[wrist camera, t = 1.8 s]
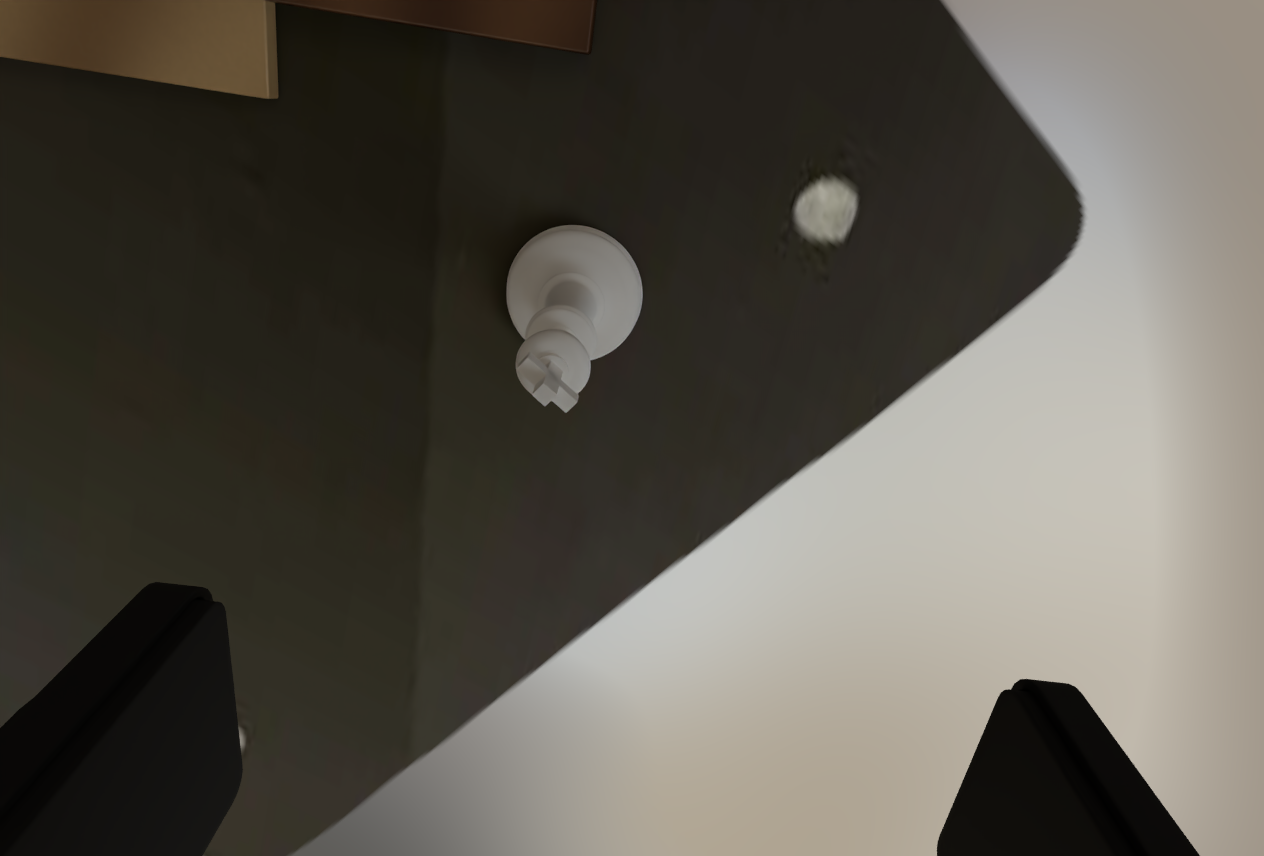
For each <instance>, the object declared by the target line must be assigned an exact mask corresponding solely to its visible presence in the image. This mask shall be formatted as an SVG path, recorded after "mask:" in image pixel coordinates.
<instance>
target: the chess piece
mask: <svg viewBox="0 0 1264 856" xmlns="http://www.w3.org/2000/svg"><path fill="white" fill-rule="evenodd" d="M642 296H643V293H642V283H641V278H640V274H639V271H638V269H637V266H636V264H635V262H634V260H633V259H632V257H631V256H630V254H629V253H628V252H627V250H626V249H625V248H624V247H623V246H622V245H621V244H620V243H619V242H618V241H616V240H615V239H614V238H612V237H611V236H609V235H608V234H606V233H604V232H602V231H600V230H597V229H594V228H591V227H587V226H581V225H564V226H558V227H554V228H551V229H548V230H545V231H543V232H541V233H539V234H538V235H536V236H535V237H533V238H532V239H531V240H529V241H528V242H527V243H526V244H525V245H524V246H523V247H522V248H521V250H520V251H519V252H518V254H517V255H516V257H515V259H514V261H513V263H512V265H511V267H510V270H509V274H508V279H507V289H506V298H507V306H508V310H509V314H510V317H511V319H512V322H513V324H514V326H515V327H516V329H517V331H518V332H519V333H520V335H521V336H522V337H523V338H524V339H525V341H524V343H523V344H522V345H521V347H520V349H519V351H518V353H517V357H516V372H517V375H518V378H519V380H520V382H521V384H522V385H523V386H524V388H525V389H526V390H527V391H528V392H530V393H531V394H532V396H534V397H535V398H536V399H537V400H538V401H539V402H540V403H542V404H543V405H544V406H546V405H547V404H548V403H549V402H550V401H553V402H554V403H555V404H556V405H557V406H559V407H560V408H561V409H562V410H563V411H564V412H565V413H567V412H568V411H569V410H570V409H571V408H572V407H573V406H574V405H575V404H576V403H577V402H578V397H579V395H578V393H579V392H580V391H581V390H582V389H583V388H584V386H585V385H586V383H587V381H588V379H589V375H590V369H591V364H590V360H593V359H596V358H599V357H602V356H604V355H606V354H608V353H610V352H611V351H613V350H614V349H615V348H617V347H618V346H619V345H620V344H621V343H622V342H623V341H624V340H625V339H626V338H627V336H628V335H629V334H630V332H631V331H632V329H633V327H634V325H635V324H636V321H637V319H638V317H639V314H640V310H641V306H642Z"/></svg>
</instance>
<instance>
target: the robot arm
mask: <svg viewBox="0 0 1264 856" xmlns="http://www.w3.org/2000/svg"><path fill="white" fill-rule="evenodd" d="M241 778H242V757H241V748H240V739H239V730H238V721H237V711H236V702H235V693H234V684H233V674H232V665H231V656H230V647H229V638H228V628H227V619H226V611H225V607H224V606H223V604H222V603H220V602H215V601H213V599H212V595H211V593H210V592H209V590H208V589H206V588H203V587H196V586H187V585H178V584H169V583H160V582H155V583H151V584H149V585H147V586H146V587H145V588H143V589H142V590H141V591H140V592H139V593H138V594H137V595H136V596H135V597H134V598H133V599H132V600H131V601H130V602H129V603H128V604H127V605H126V606H125V607H124V608H123V609H122V610H121V611H120V612H119V613H118V614H117V615H116V616H115V617H114V618H113V619H112V620H111V621H110V622H109V623H108V624H107V625H106V626H105V627H104V628H103V629H102V630H101V631H100V632H99V633H98V634H97V635H96V636H95V637H94V638H93V639H92V640H91V641H90V642H89V643H88V644H87V645H86V646H85V647H84V648H83V649H82V650H81V651H80V652H79V653H78V654H77V655H76V656H75V657H74V658H73V659H72V660H71V661H70V662H69V663H68V664H67V665H66V666H65V667H64V668H63V669H62V670H61V671H60V672H59V673H58V674H57V675H56V676H55V677H54V678H53V679H52V680H51V681H50V682H49V683H48V684H47V685H46V686H45V687H44V688H43V689H42V690H41V691H40V692H39V693H38V694H37V695H36V696H35V697H34V698H33V699H32V700H30V701H29V702H28V703H27V704H25V705H24V706H23V707H22V708H20V709H19V710H18V711H17V712H16V713H15V714H14V715H13V716H12V717H11V718H10V719H9V720H8V721H7V722H6V723H5V724H4V725H3V726H2V727H1V728H0V856H202V855H203V854H204V852H205V850H206V848H207V847H208V845H209V843H210V841H211V840H212V838H213V836H214V834H215V833H216V831H217V829H218V827H219V826H220V824H221V822H222V821H223V819H224V817H225V815H226V814H227V812H228V810H229V808H230V807H231V805H232V803H233V801H234V799H235V797H236V795H237V792H238V789H239V786H240V782H241ZM937 856H1199V854H1198V853H1197V851H1196V850H1195V849H1194V847H1193V846H1192V844H1191V843H1190V842H1189V840H1188V839H1187V837H1186V836H1185V835H1184V833H1183V832H1182V831H1181V829H1180V828H1179V826H1178V825H1177V824H1176V822H1175V821H1174V820H1173V818H1172V817H1171V816H1170V814H1169V813H1168V811H1167V810H1166V809H1165V807H1164V806H1163V805H1162V803H1161V802H1160V800H1159V799H1158V798H1157V796H1156V795H1155V794H1154V792H1153V791H1152V789H1151V788H1150V787H1149V786H1148V784H1147V783H1146V781H1145V780H1144V779H1143V777H1142V776H1141V774H1140V773H1139V772H1138V770H1137V769H1136V768H1135V766H1134V765H1133V763H1132V762H1131V761H1130V759H1129V758H1128V756H1127V755H1126V754H1125V752H1124V751H1123V750H1122V748H1121V747H1120V745H1119V744H1118V743H1117V741H1116V740H1115V739H1114V737H1113V736H1112V734H1111V733H1110V732H1109V730H1108V729H1107V728H1106V726H1105V725H1104V723H1103V722H1102V721H1101V719H1100V718H1099V717H1098V715H1097V714H1096V713H1095V711H1094V710H1093V708H1092V707H1091V706H1090V704H1089V703H1088V701H1087V700H1086V699H1085V697H1084V696H1083V695H1082V693H1081V692H1080V691H1079V690H1078V689H1077V688H1076V687H1074V686H1072V685H1070V684H1066V683H1057V682H1047V681H1039V680H1030V679H1021V680H1019V681H1018V682H1016V683H1015V684H1014V686H1013V687H1012V689H1011V690H1004V691H1003V692H1001V694H1000V696H999V697H998V699H997V701H996V704H995V706H994V709H993V711H992V713H991V716H990V718H989V720H988V723H987V725H986V728H985V730H984V733H983V735H982V737H981V739H980V742H979V744H978V747H977V749H976V751H975V753H974V756H973V758H972V761H971V763H970V765H969V768H968V770H967V772H966V775H965V777H964V780H963V782H962V784H961V787H960V789H959V792H958V794H957V796H956V798H955V801H954V803H953V806H952V808H951V810H950V813H949V815H948V818H947V820H946V822H945V824H944V827H943V829H942V832H941V834H940V837H939V840H938V845H937Z"/></svg>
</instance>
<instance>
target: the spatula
mask: <svg viewBox="0 0 1264 856" xmlns="http://www.w3.org/2000/svg"><path fill="white" fill-rule="evenodd" d="M275 3H278V4H283V5H289V6H296V7H302V8H308V9H314V10H320V11H326V12H332V13H338V14H344V15H350V16H356V17H362V18H368V19H374V20H380V21H386V22H393V23H399V24H405V25H411V26H417V27H423V28H429V29H435V30H441V31H447V32H453V33H459V34H465V35H471V36H477V37H483V38H489V39H496V40H502V41H508V42H514V43H520V44H526V45H532V46H538V47H544V48H550V49H556V50H562V51H568V52H574V53H580V54H586V55H589V54H591V51H592V42H593V33H594V24H595V16H596V7H597V0H0V57H5V58H11V59H17V60H24V61H30V62H36V63H43V64H49V65H55V66H62V67H68V68H74V69H81V70H87V71H93V72H100V73H106V74H112V75H119V76H125V77H131V78H138V79H144V80H150V81H157V82H163V83H169V84H176V85H182V86H188V87H194V88H201V89H207V90H213V91H220V92H226V93H232V94H239V95H245V96H251V97H258V98H264V99H277V98H278V71H277V44H276V17H275Z"/></svg>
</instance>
